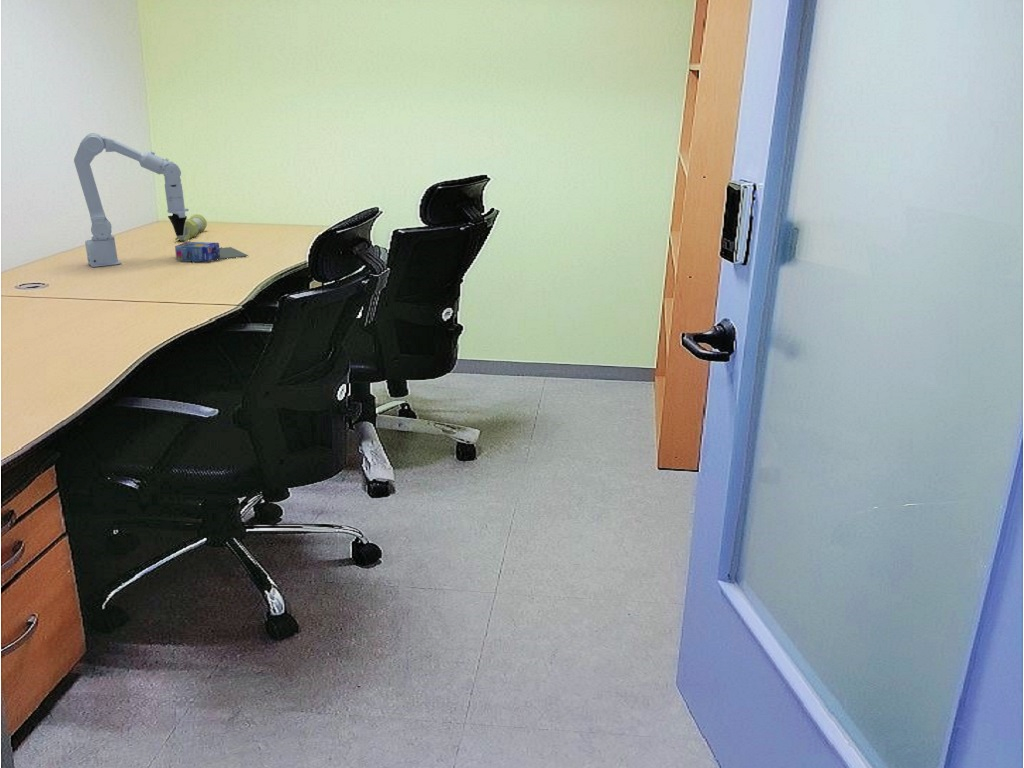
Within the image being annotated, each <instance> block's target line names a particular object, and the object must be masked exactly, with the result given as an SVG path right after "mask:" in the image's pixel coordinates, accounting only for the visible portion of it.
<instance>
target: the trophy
mask: <svg viewBox="0 0 1024 768" xmlns="http://www.w3.org/2000/svg"><path fill="white" fill-rule="evenodd" d="M207 225H208V222H207V220H206V218H205V217H204V216H203V215H201V214H193V215H191V216H190V217H189V218H187V219H186V221H185V224H184V233H183V235H182V236H177V235H176V234H175V236H176V237H175V238H174V244H177V243H178V241H179V240H180V241H183V243H185V242H189V241H188V240H190V239H191V238H195V237H196V236H197V234H198V233H200V232H203V231H204V230H206V228H207ZM180 241H179V242H180ZM176 242H177V243H176Z"/></svg>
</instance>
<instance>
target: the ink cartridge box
mask: <svg viewBox="0 0 1024 768" xmlns="http://www.w3.org/2000/svg"><path fill="white" fill-rule="evenodd" d="M221 248H223V247H220V243H219V242H203V241H187V242H185V243H184V242H183V243H181V244H178V245H174V249H175V260H176V261H179V262H181V261H183V262H191V261H205V262H211V260H213V259H215V258H217V257H219V256H220V250H219V249H221Z"/></svg>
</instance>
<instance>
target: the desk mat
mask: <svg viewBox="0 0 1024 768" xmlns="http://www.w3.org/2000/svg"><path fill="white" fill-rule="evenodd" d="M220 248H221V247H220ZM219 250H220V256H219V257H217V258H215V259H213V260H214V261H218V260H217V259H223V260H228V259H227V258H232V259H237V258H236V257H241V258H247V257H246V256H248V257H249V254H247V253H244V252H242V251H240V250H237V248H233V247H232V246H228V247H222V248H221V249H219ZM193 262H196V263H201V262H200V261H192V262H191V263H193Z"/></svg>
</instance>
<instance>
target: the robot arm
mask: <svg viewBox="0 0 1024 768" xmlns="http://www.w3.org/2000/svg"><path fill="white" fill-rule="evenodd" d="M104 149H105V153H111V152H112V153H113V152H115V153H117V154H119V155H122V156H125V157H128V158H130V159H133V160H135V161H137V162H138V163H139V165H140V167H142V168H144V169H146V170H149V171H151V172H152V173H155V174H157V175H163V177H164V191H165V192H164V193H165V198H166V206H167V211H166V212H167V213H169V214H172V215H168V216H167V218H168V219H169V221H170V223H171V225H172V227H173V230H174V233H175V236H176V235H177V236H182V235H183V233H184V224H185V221H186V219H188V217H187V215H186V212H189V208H186V206H185V200H184V192H183V191H184V190H183V184H182V179H181V176H182V171H181V169H180V166H179V165H177V163H175V162H174V161H169V159H168V158H163V157H161V156H159V155H156V152H154V151H153V150H152V151H144V152H141V151H139V150H136V148H132V147H130V146H128V145H126V144H124V143H123V142H120V141H118V140H116V139H113V138H111V137H107V136H101V135H100V134H99V133H95V132H92V133H88V134H87V135H85V137H84V138H83V139H82V140H81V141H80V143H79V145H78V148H77V150H76V153H75V156H74V158H73V163H74V167H75V169H76V172H77V173H76V174H77V176H78V179H79V184H80V187H81V189H82V193H83V196H84V199H85V203H86V205H87V209H88V212H89V217H90V222H91V227H90V232H91V234H92V236H91V239H88V240H85V252H86V257H87V264H88V265H90V266H91V267H92V268H96V267H105V266H114V265H122V262H121V261H120V260H119V259H118V253H117V247H116V246H117V245H116V240H115V236H114V235H113V234H112V228H113V227H112V224H111V222H110V221H109V219H108V218H107V216H106V214H105V211H104V207H103V205H102V201H101V198H100V194H99V191H98V188H97V187H98V186H97V183H96V181H95V180H96V179H95V177H94V174H93V169H92V168H91V166H92V165H91V163H92V161H93V160H94V159H95V157H96V156H98V155H100V154H101V153H102V152H103V151H104ZM177 236H176V237H177Z"/></svg>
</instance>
